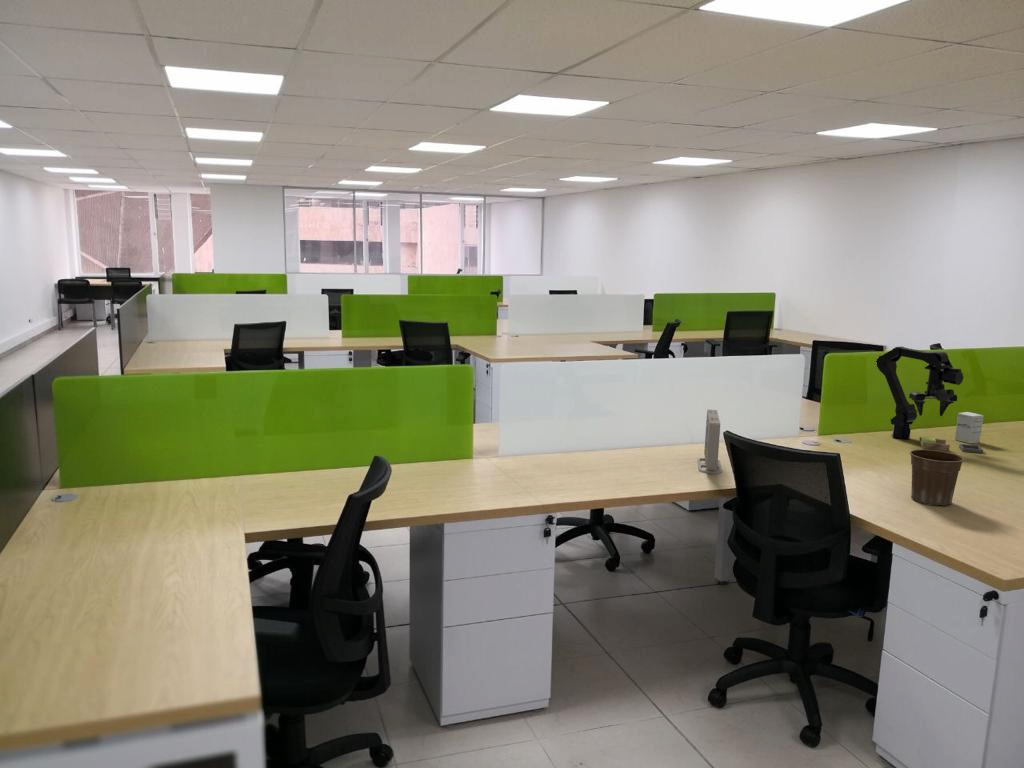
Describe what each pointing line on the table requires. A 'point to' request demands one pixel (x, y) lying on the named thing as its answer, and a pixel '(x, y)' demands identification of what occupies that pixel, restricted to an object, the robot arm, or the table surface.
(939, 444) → the lane rails
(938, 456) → the plant pot
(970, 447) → the trap pit
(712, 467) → the network device
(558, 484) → the table surface
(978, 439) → the supplement box
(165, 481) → the table surface
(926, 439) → the lime block
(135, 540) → the table surface
